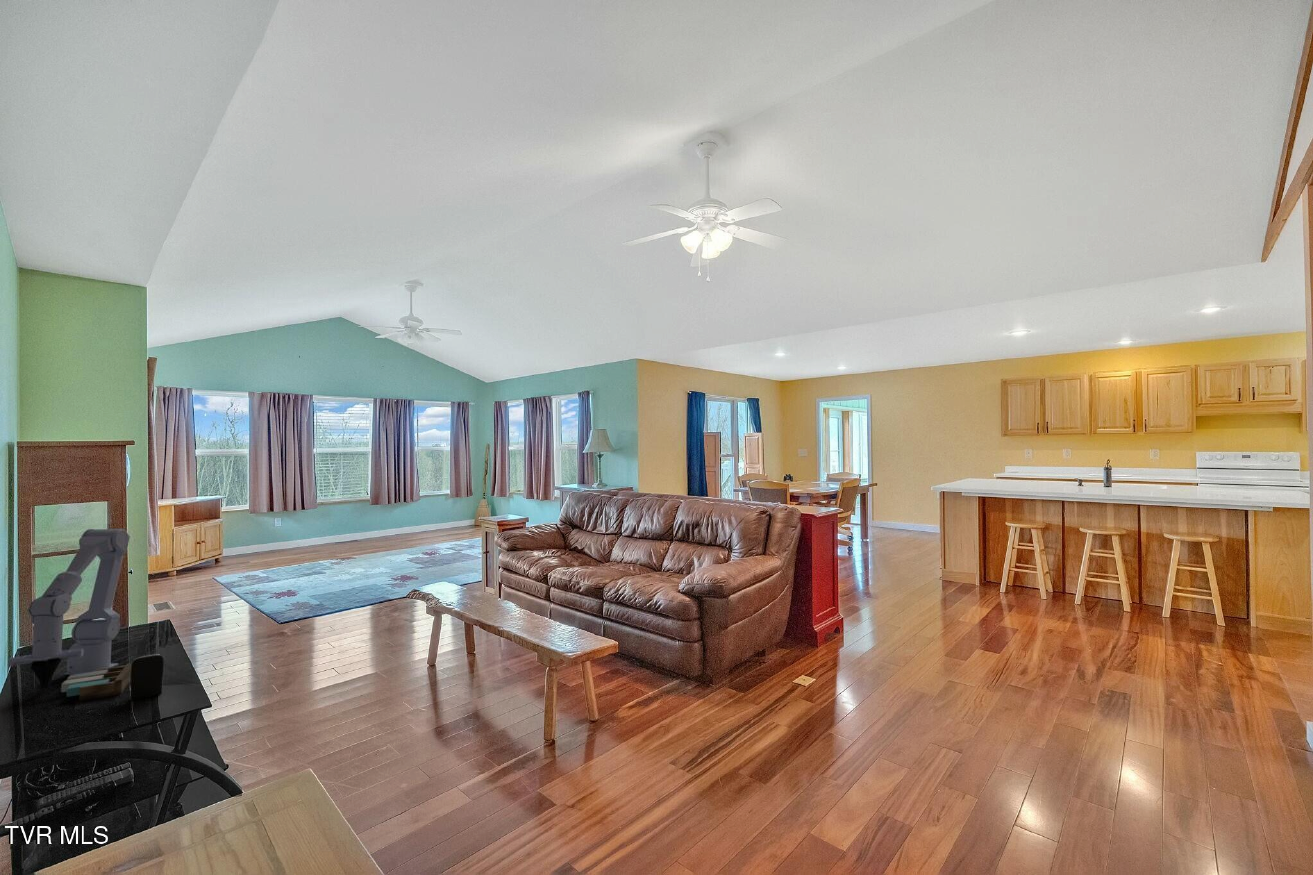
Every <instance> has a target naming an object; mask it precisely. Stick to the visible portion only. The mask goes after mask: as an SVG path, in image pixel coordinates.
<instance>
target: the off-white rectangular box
mask: <svg viewBox="0 0 1313 875" xmlns="http://www.w3.org/2000/svg"><path fill="white" fill-rule="evenodd" d="M102 678H104V675H99V676H93V677H86V678H80V679H73V680H67V679H66V680H64V681H63V682H61V686H60V687H61V690H60V693H65V692H66V693H67V688H68V687H69V686H70V685H73V684H80V683H85V681H89V680H95V679H102Z"/></svg>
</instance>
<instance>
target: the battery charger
mask: <svg viewBox="0 0 1313 875" xmlns="http://www.w3.org/2000/svg"><path fill="white" fill-rule="evenodd" d="M130 663H131V671H130V681H129V683H130V690H129V691H130V693H129V694H130V695H129V700H130V701H135V700H140V699H146V698H150V697H155V696H158V695H161V694H162V693H163V682H164V672H165V657H164V655H163V654H162V653H159V652H156V653H155V652H154V653H148V654H144V655H143V654H142V655H138V656H136V657H134V658H133V659H132V661H131V662H130Z"/></svg>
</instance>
